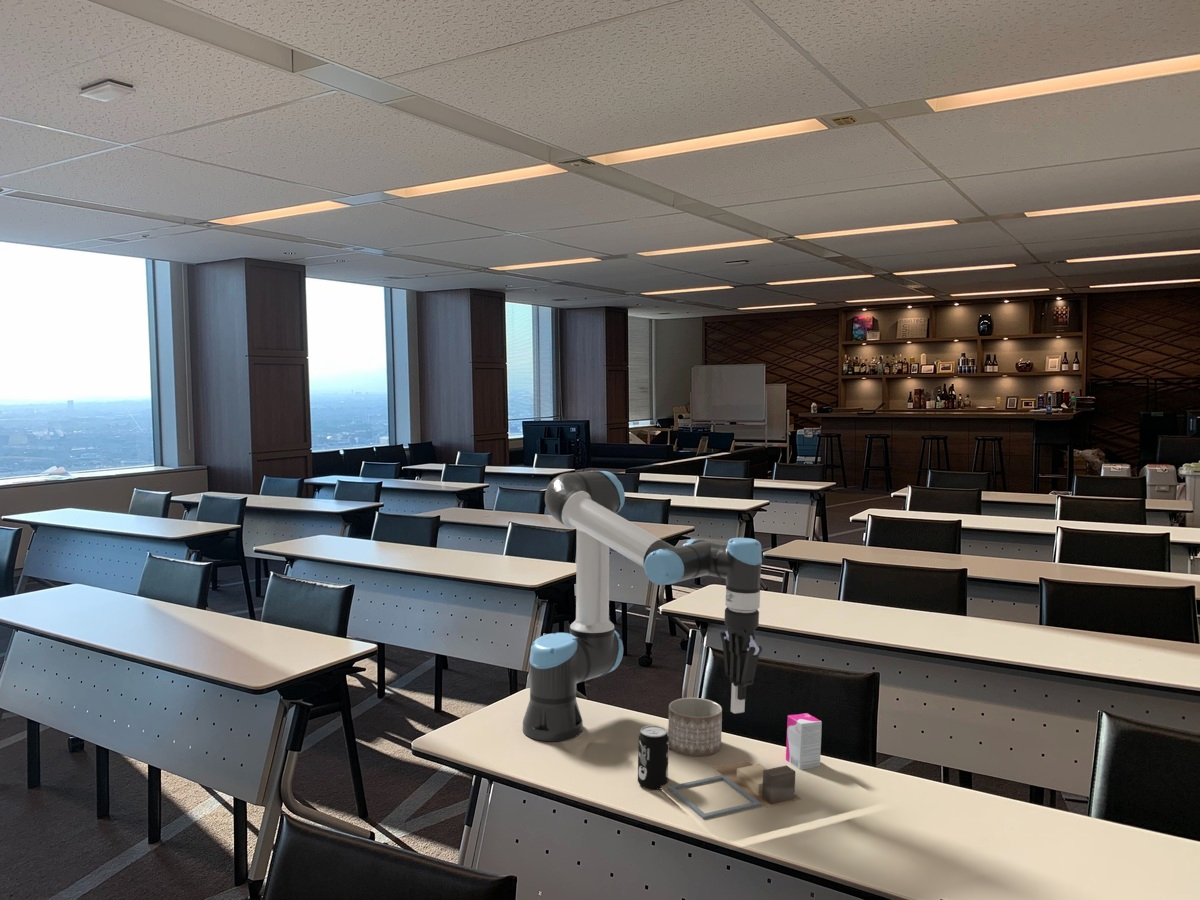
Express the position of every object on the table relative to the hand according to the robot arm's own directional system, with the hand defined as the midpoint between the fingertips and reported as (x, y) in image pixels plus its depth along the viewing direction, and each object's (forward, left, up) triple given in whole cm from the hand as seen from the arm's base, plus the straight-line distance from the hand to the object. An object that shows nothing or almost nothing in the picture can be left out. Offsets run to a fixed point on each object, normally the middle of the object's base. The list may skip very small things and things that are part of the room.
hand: (737, 711), depth 188 cm
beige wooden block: (+8, 0, -13) cm, 16 cm away
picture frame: (+9, -12, -14) cm, 21 cm away
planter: (-15, -2, -15) cm, 21 cm away
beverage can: (-3, -20, -14) cm, 25 cm away
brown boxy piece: (+7, 0, -14) cm, 16 cm away
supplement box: (+3, +16, -14) cm, 22 cm away
